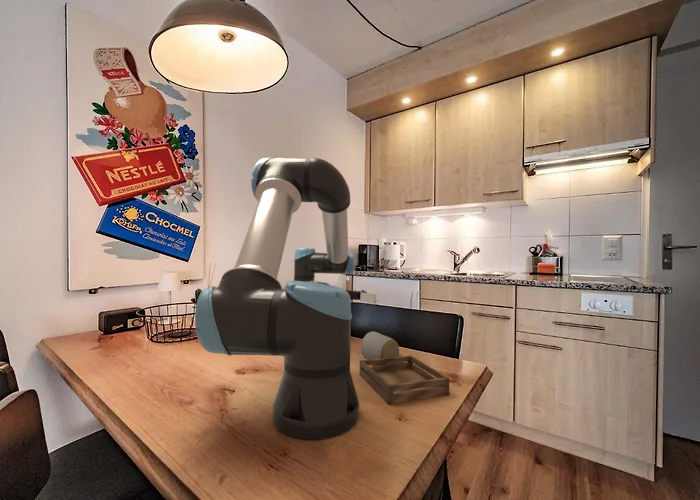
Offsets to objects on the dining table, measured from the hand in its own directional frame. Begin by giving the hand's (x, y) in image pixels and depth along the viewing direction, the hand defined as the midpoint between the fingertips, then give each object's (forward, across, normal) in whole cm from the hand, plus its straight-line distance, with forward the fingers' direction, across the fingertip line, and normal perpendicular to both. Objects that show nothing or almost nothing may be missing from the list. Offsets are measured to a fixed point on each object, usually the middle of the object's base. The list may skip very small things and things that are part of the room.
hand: (358, 301), depth 92 cm
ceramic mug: (+10, 0, -15) cm, 18 cm away
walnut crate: (+23, +7, -15) cm, 28 cm away
